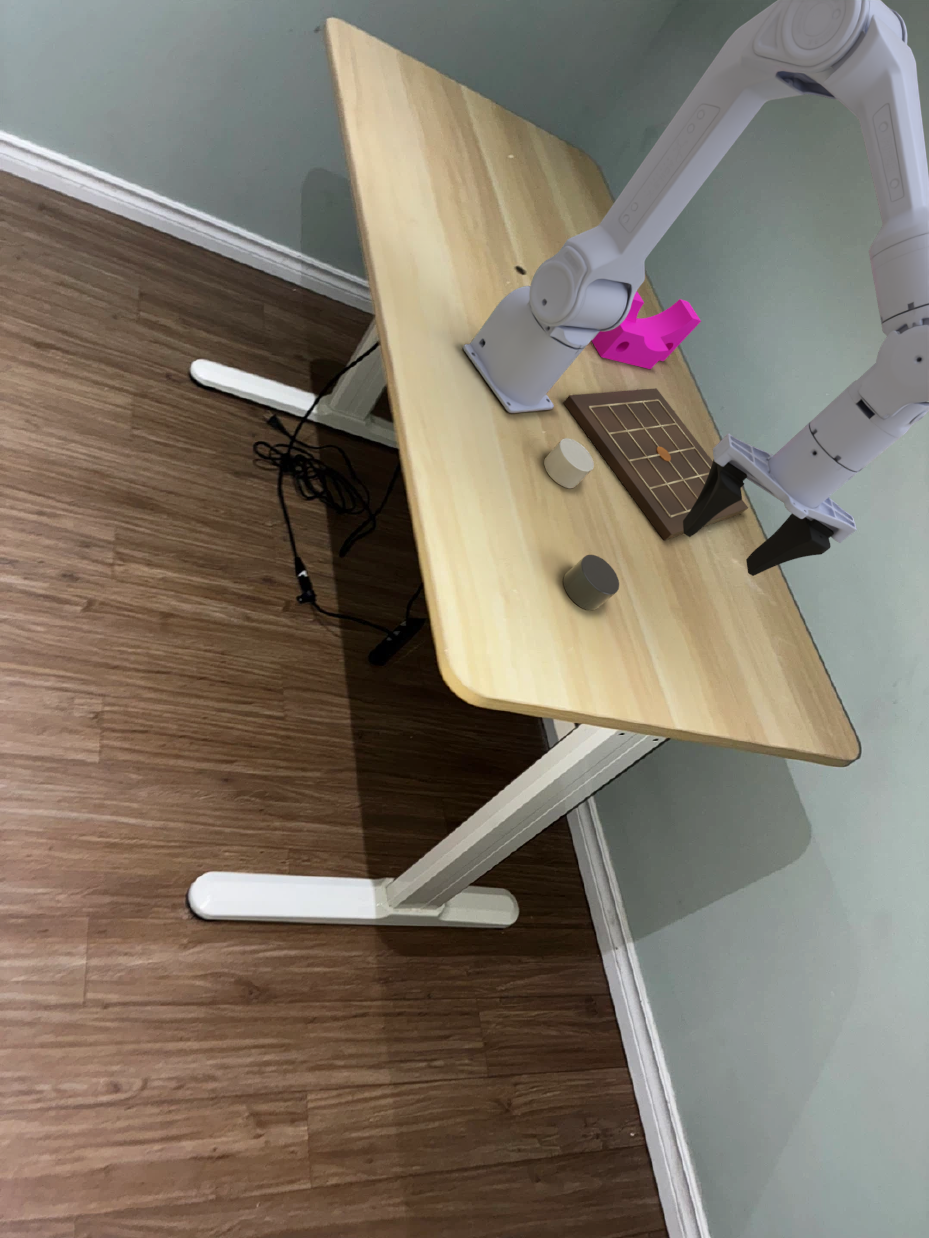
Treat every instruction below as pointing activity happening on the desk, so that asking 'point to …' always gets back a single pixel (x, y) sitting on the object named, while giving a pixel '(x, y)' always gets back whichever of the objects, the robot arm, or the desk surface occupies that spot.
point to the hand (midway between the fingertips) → (718, 548)
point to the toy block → (647, 334)
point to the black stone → (591, 582)
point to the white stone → (568, 463)
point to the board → (649, 453)
